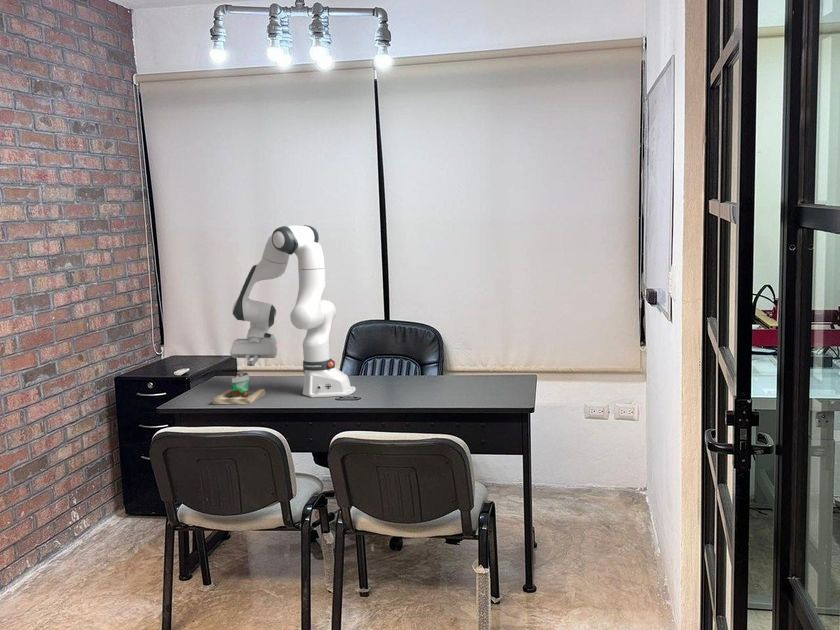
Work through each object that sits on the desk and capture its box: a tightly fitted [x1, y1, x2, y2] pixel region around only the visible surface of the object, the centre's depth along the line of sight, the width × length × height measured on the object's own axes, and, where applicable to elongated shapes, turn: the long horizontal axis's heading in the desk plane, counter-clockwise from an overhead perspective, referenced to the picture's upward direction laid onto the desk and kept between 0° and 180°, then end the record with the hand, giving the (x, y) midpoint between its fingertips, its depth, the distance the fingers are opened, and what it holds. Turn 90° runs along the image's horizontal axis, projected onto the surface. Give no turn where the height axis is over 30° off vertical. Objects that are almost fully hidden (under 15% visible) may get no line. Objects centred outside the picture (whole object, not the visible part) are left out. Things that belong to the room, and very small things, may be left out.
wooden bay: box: [211, 388, 266, 405], centre depth 340 cm, size 16×17×2 cm
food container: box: [231, 371, 251, 398], centre depth 343 cm, size 12×6×10 cm, turn 2°
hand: (250, 365), depth 353 cm, fingers closed
